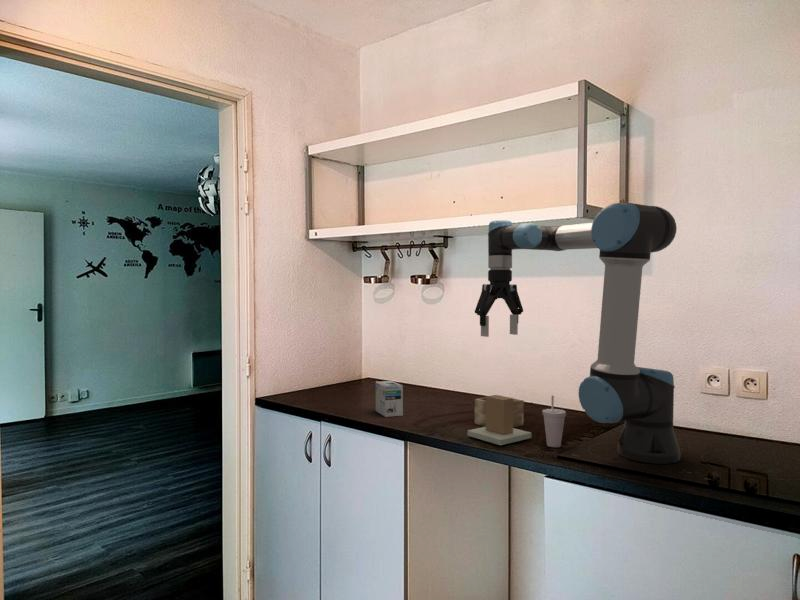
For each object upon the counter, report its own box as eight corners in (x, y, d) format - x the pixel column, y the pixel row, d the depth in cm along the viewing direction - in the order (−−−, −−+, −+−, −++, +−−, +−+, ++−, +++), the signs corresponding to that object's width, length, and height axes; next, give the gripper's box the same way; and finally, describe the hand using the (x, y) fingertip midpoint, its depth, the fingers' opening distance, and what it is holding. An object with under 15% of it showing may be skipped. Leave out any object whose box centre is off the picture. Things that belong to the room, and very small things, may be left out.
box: (523, 425, 181) (523, 400, 181) (500, 430, 174) (500, 404, 174) (497, 418, 190) (497, 395, 190) (474, 423, 183) (474, 398, 183)
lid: (531, 437, 163) (531, 398, 163) (500, 445, 156) (501, 403, 155) (497, 428, 174) (498, 391, 174) (467, 435, 166) (467, 396, 166)
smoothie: (537, 443, 160) (537, 394, 159) (556, 441, 162) (556, 392, 162) (551, 449, 154) (551, 398, 153) (570, 447, 156) (571, 396, 156)
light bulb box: (403, 416, 194) (403, 384, 193) (385, 417, 191) (385, 385, 191) (392, 409, 204) (392, 380, 203) (374, 411, 201) (374, 381, 201)
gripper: (516, 270, 192) (516, 332, 192) (463, 268, 176) (463, 336, 177) (534, 269, 186) (533, 334, 186) (481, 268, 170) (480, 338, 171)
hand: (499, 335), depth 181 cm, fingers open, 13 cm apart
